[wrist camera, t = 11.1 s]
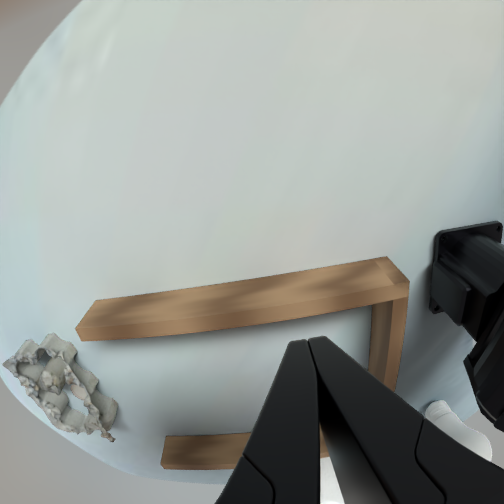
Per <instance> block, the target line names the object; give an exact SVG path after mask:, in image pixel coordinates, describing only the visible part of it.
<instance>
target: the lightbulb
mask: <svg viewBox="0 0 504 504" xmlns="http://www.w3.org/2000/svg"><path fill="white" fill-rule="evenodd" d="M425 416H426V418H427V419H428V420H429V421H430V422H432V423H433V424H434V425H436V426H437V427H438V428H439V429H441V430H442V431H443V432H445V433H446V434H447V435H449V436H450V437H452V438H453V439H454V440H456V441H457V442H459V443H460V444H462V445H463V446H465V447H466V448H468V449H470V450H471V451H473V452H474V453H476V454H478V455H479V456H481V457H483V458H485V459H486V460H488V461H490V462H491V459H492V448H491V444H490V442H489V440H488V438H487V437H485V435H484V434H482V433H480V432H478V431H476V430H474V429H472V428H470V427H468V426H466V425H465V424H464V423H463V422H462V421H461V420H460V419H459V418H458V416H457V415H456V414H455V413H454V412H452V411H451V409H450V408H449V406H448V405H447V403H446V402H445V401H443V400H439V401H434V402H432V403H431V404H430V405H429V407H428V408H427V409H426V412H425Z"/></svg>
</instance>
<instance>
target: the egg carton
mask: <svg viewBox="0 0 504 504" xmlns="http://www.w3.org/2000/svg"><path fill="white" fill-rule="evenodd" d="M45 351H46V352H47V353H48V355H49V356H51V359H50V360H49V361H48V363H47V364H46V366H45V367H44V366H43V365H42V364H41V363H39V362H38V360H39V359H40V357H41V356H42V355H43V353H44V352H45ZM76 353H77V350H76V348H75V347H74V345H73V344H72V343H71V342H68V341H64V340H62V339H61V338H59V337H58V336H57V335H56V334H55V333H51V334H48V335H47V336H46V338H45V339H44V340H43V342H42V343H41V344H40V346H39V345H38V344H37V343H35V342H34V341H33V340H32V339H29V340H26V341H25V342H24V344H23V345H22V346H21V348H20V349H19V350H18V351H17V352H16V354H15V356H12V357H11V358H10V359H8V360H7V361H5V362H4V363H3V366H4V367H6V368H7V369H8V370H9V371H10V372H12V374H13V375H14V377H17V378H18V379H19V380H20V382H21V386H25V388H26V394H27V395H28V396H30V397H31V398H32V399H33V400H34V401H35V402H36V404H37V405H38V406H39V407H40V408H41V409H43V411H44V412H45V413H46V415H47V417H48V418H49V420H50V421H51V423H52V424H53V425H54V426H55V427H56V428H58V429H61V430H64V431H67V432H76V433H77V434H79V433H81V432H86V433H87V435H89V434H91V433H92V432H93V431H94V430H101V432H102V434H101V437H104V438H107V439H109V440H110V442H114V441H115V438H112V436H111V434H110V433H108V432H107V431H109V430H110V429H111V427H112V425H113V422H114V419H115V417H116V411H117V407H118V404H117V402H116V401H115V400H114V399H113V398H110V397H106V396H104V395H102V394H101V393H100V392H99V391H98V390H97V389H96V385H97V383H98V381H99V380H98V379H97V377H96V376H95V375H94V374H93V373H92V372H90V371H86V370H83V369H82V368H81V367H79V366H78V365H77V363H76V362H75V360H74V355H75V354H76ZM59 357H61V358H62V359H61V358H59ZM65 383H67V384H68V385H70V384H73V385H72V386H71V391H72V393H73V394H74V395H75V396H76V397H77V398H79V399H81V400H84V406H85V407H87V408H88V410H89V414H88V416H86V415H84V414H83V413H81V412H80V411H78V410H75V409H71V408H70V407H69V406H68V405H67V403H68V401H69V398H68V396H67V394H66V393H65V392H64V391H62V389H63V386H64V385H65Z"/></svg>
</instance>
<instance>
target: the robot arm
mask: <svg viewBox="0 0 504 504" xmlns="http://www.w3.org/2000/svg"><path fill="white" fill-rule="evenodd" d="M502 230H503V225H502V223H500V222H498V221H492V222H487V223H481V224H475V225H470V226H464V227H458V228H452V229H447V230H442V231H439V232H438V234H437V235H436V244H435V258H434V264H433V271H432V281H431V290H430V295H431V297H430V304H429V309H430V311H431V312H432V313H433V314H437V313H440V312H444V311H445V312H446V313H447V314H448V315H449V317H450V318H451V319H452V320H453V321H454V322H455V323H456V324H457V325H458V326H461V325H462V326H463V327H464V328H465V329H466V330H467V332H468V333H469V334H470V335H471V336H472V338H473V339H474V340H475V341H476V342H477V343H476V345H475V346H474V348H473V349H472V351H471V352H470V354H468V355H467V356H466V358H465V360H464V361H463V362H464V365H465V368H466V371H467V374H468V376H469V379H470V382H471V385H472V388H473V392H474V395H475V398H476V401H477V404H478V406H479V408H480V411H481V413H482V414H483V415H484V416H485V417H486V418H487V419H488V420H489V421H490V422H491V423H493V424H494V427H495V428H497V429H499V430H501V431H502V432H504V245H503V244H501V239H502ZM443 236H444V239H443V240H442V237H443ZM435 307H436V308H435ZM423 419H424V416H423V415H422V414H420V413H419V412H418V411H417V410H415V409H414V408H413V407H412V406H410V405H409V404H408V403H407V402H405V401H404V400H403V399H402V398H400V397H399V396H398V395H397V394H395V393H394V392H393V391H392V390H391V389H389V388H388V387H387V386H386V385H384V384H383V383H382V382H381V381H379V380H378V379H377V378H376V377H375V376H373V375H372V374H371V373H370V372H368V371H367V370H366V369H365V368H364V367H362V366H361V365H360V364H359V363H358V362H356V361H355V360H354V359H353V358H351V357H350V356H349V355H348V354H347V353H345V352H344V351H343V350H342V349H341V348H339V347H338V346H337V345H336V344H335V343H333V342H332V341H331V340H330V339H328V338H327V337H326V336H319V337H314V338H309V339H308V341H307V340H305V339H302V340H296V341H291V342H289V344H288V346H287V349H286V351H285V354H284V356H283V359H282V361H281V364H280V366H279V369H278V371H277V374H276V376H275V379H274V381H273V383H272V386H271V388H270V391H269V393H268V395H267V398H266V400H265V403H264V405H263V407H262V410H261V412H260V414H259V416H258V419H257V421H256V423H255V426H254V428H253V430H252V432H251V435H250V437H249V439H248V441H247V443H246V446H245V448H244V450H243V452H242V456H241V457H240V458H239V460H238V462H237V464H236V467H235V469H234V471H233V473H232V475H231V476H230V478H229V480H228V482H227V484H226V486H225V488H224V489H223V491H222V493H221V495H220V496H219V498H218V499H217V501H216V502H215V504H320V491H321V466H320V427H321V431H322V434H323V437H324V440H325V443H326V447H327V450H328V453H329V456H330V459H331V462H332V465H333V468H334V472H335V475H336V478H337V481H338V484H339V487H340V490H341V494H342V497H343V500H344V503H345V504H504V469H502V468H501V467H499V466H497V465H495V464H493V463H492V462H490V461H488V460H486V459H485V458H483V457H481V456H479V455H478V454H476V453H474V452H473V451H471V450H470V449H468V448H466V447H465V446H463V445H462V444H460V443H459V442H457V441H456V440H454V439H453V438H452V437H450V436H449V435H447V434H446V433H445V432H443V431H442V430H441V429H439V428H438V427H437V426H436V425H434V424H433V423H432V422H430V421H429V420H428V419H427V418H425V419H424V420H423Z"/></svg>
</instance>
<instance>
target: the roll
mask: <svg viewBox="0 0 504 504" xmlns="http://www.w3.org/2000/svg"><path fill="white" fill-rule="evenodd" d="M320 466H321V491H320V504H345V503H344V500H343V497H342V494H341V490H340V487H339V484H338V481H337V478H336V475H335V472H334V468H333V465H332V462H331V459H330V457H326V458H321V459H320Z"/></svg>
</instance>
